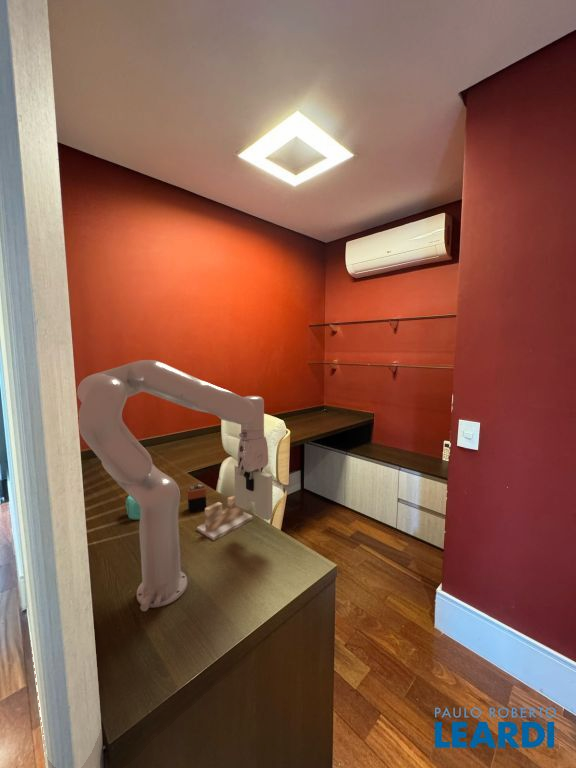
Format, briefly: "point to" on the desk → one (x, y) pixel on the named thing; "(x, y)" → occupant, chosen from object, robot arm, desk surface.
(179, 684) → the desk surface
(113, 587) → the desk surface
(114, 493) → the desk surface
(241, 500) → the beige rectangular panel
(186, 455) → the desk surface
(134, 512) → the decorative dice
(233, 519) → the stand
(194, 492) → the battery
